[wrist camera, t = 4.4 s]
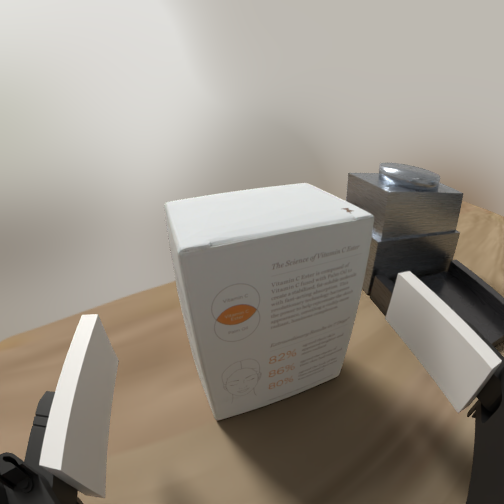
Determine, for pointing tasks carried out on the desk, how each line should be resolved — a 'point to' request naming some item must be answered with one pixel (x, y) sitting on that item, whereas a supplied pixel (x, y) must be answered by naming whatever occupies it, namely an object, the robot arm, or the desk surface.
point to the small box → (267, 289)
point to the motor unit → (421, 243)
